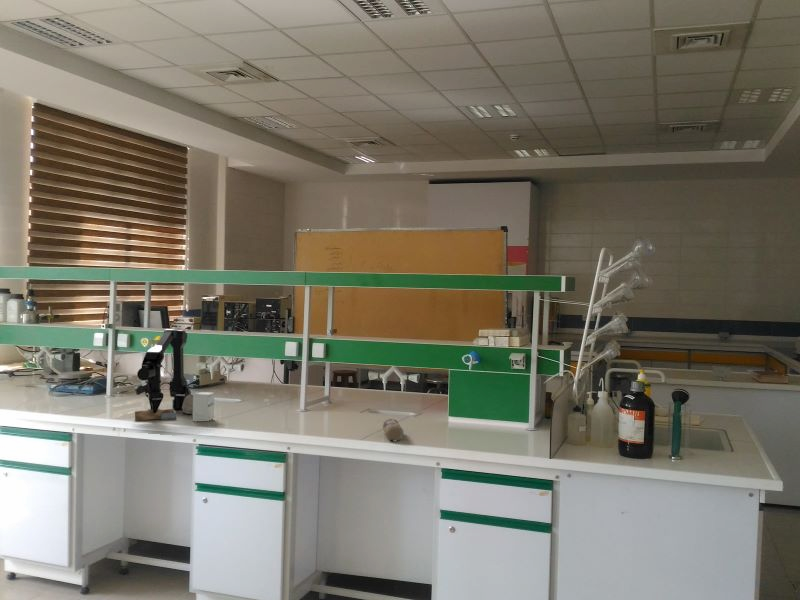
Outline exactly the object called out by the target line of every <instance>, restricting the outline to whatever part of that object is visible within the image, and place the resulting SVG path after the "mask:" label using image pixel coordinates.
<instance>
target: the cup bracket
mask: <svg viewBox="0 0 800 600" xmlns="http://www.w3.org/2000/svg"><path fill="white" fill-rule="evenodd" d="M163 419H168V420H177V412H176V410H174V409H173V410H172V413H161V419H160V420H162V421H164V420H163Z"/></svg>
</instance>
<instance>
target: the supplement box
mask: <svg viewBox="0 0 800 600" xmlns="http://www.w3.org/2000/svg"><path fill="white" fill-rule="evenodd" d="M192 395H193V414H192V422H197V421H208V422H210V421H212V420H211V419H213V418H214V419H215V392H207V391H205V392H204V391H199V392H197V393H194V394H193V393H192ZM214 419H213V420H214ZM209 420H210V421H209Z"/></svg>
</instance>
